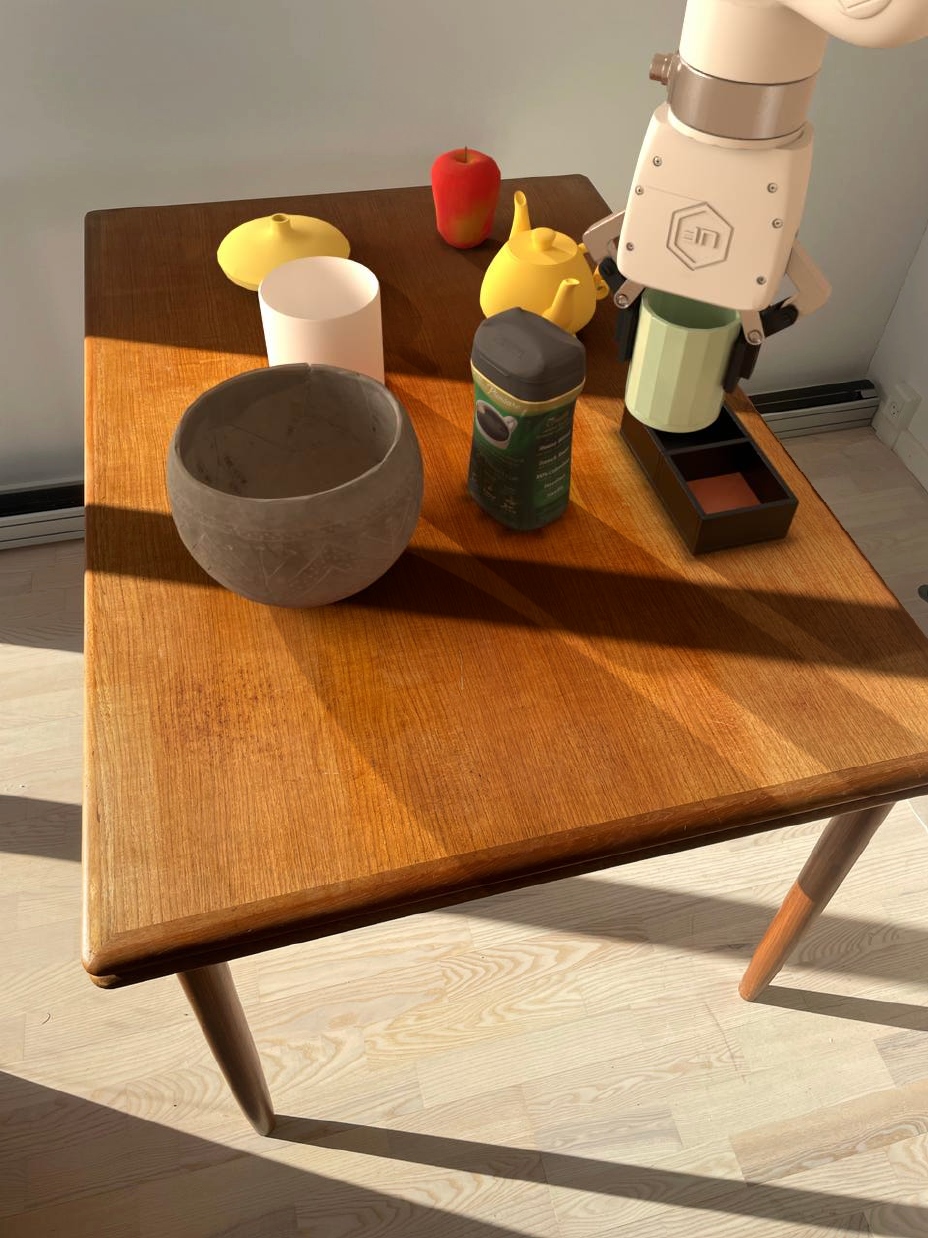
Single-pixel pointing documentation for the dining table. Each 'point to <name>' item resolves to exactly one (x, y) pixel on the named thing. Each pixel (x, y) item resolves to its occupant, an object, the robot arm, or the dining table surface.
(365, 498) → the bowl
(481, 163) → the apple
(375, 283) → the cup
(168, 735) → the dining table surface
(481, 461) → the coffee jar
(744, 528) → the black divided tray
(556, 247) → the teapot
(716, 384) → the sage cup
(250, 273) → the vase
